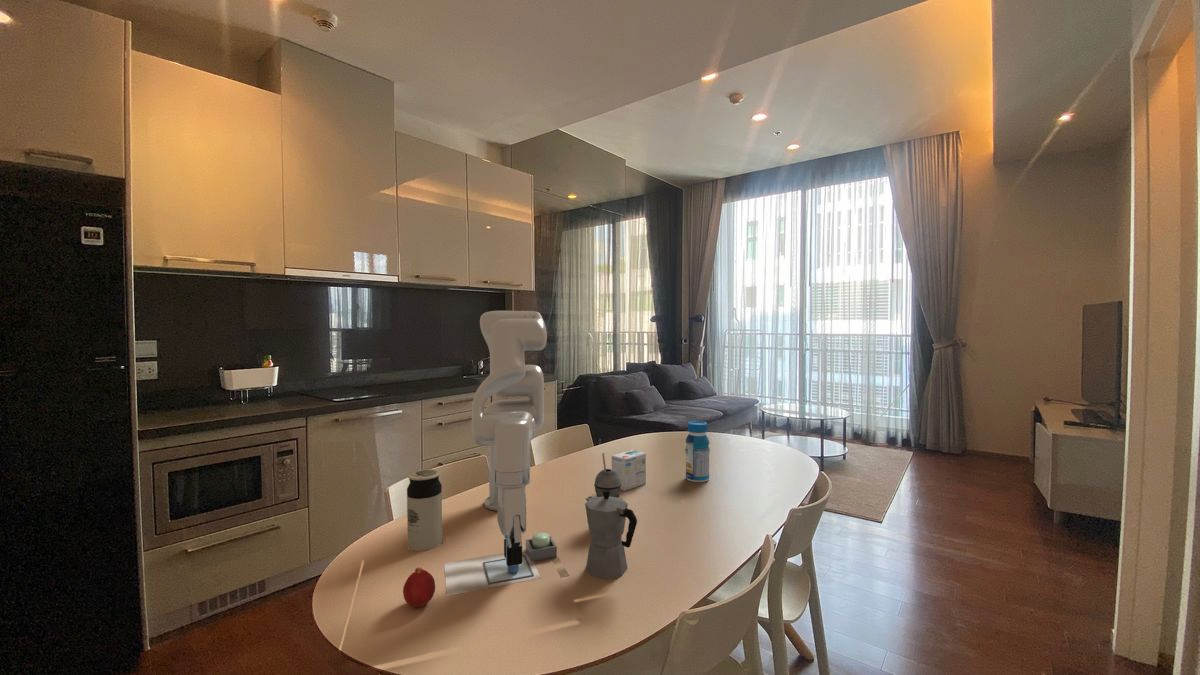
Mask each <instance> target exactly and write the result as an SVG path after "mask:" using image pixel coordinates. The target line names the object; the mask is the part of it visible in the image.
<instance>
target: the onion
mask: <svg viewBox="0 0 1200 675" xmlns="http://www.w3.org/2000/svg"><path fill="white" fill-rule="evenodd" d="M435 592H436V582H435V579H434V576H433V575H432V574H431V573H430V572H429V571H427V570H425V569H423V568H422V567H420V566H418V567H416V568H415V569H414V572H412V573H411V574H410V575H408V577H407V579H406V580H405V582H404V585H403V589H402V593H403V594H402V595H403V599H404V601H405V602H406V603H407V604H408V605H410V606H411V607H414V608H416V609H417V608H423V607H424V606H425V605H427V604H428V603H429V602H430V601H431V600H432V598H434V597H433V596H434V594H435Z"/></svg>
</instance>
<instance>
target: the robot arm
mask: <svg viewBox="0 0 1200 675" xmlns="http://www.w3.org/2000/svg"><path fill="white" fill-rule="evenodd" d="M479 328H480V331H481V334H482V336H483V338H484V341H485V343H486V345H487V347H488V350H489V352H488V353H489V375H488V376H487V377H486V378H485V379H484V380H483V381H482V382H481V383H480V385H479V386H478V388H477V389H476V392H475V393H474V396H473V399H472V403H471V436H472V440H473V441H474V443H475V444H476V445H478V446H480V447H488V464H489V466H488V467H489V469H488V472H489V485H488V486H489V496H488V497H486V498H485V499H484V504H483V506H484V507H485V508H486V509H488V510H489V511H490V510H491V511H497V512H496V513H497V514H496V515H497V516H496V517H497V518H496V519H497V524H498V527H499V531H500V532H501V534H502V535H503V537H504V539H503V553H504V557H505V558H506V535H508V546H507V565H508V566H512V565H518V564H522V550H523V543H522V541H523V538H522V537H523V536H522V534H525V532H527V493H526V486H527V485H529V484H530V483H531V471H530V470H531V468H530V466H531V461H530V460H531V458H530V457H531V456H530V455H531V454H530V450H531V449H530V448H531V447H530V442H531V440H532V439H533V437H534V436H535V432H536V431H537V430H540V429H541V428H542V427H543V425H544V422H545V378H544V371H543V370H542V368H541V367H540V366H539V365H536V364H526V358H525V351H542V350H544V349H545V348H546V345H547V339H548V335H547V334H548V333H547V332H548V331H547V326H546V323H545V320H544V319H543V316H542V315H541V313H540V312H538V311H536V310H535V311H534V310H491V311H486V312H484V313H482V314H481V316H480V319H479ZM493 395H494V396H495V397H499V398H500V397H501V398H504V397H505V398H515V397H516V398H517V397H518V398H519V397H528V398H524V399H521V398H520V399H501V400H495V401H492V402H490V403H489V404H488V405H487V406H486V409H485V404H486V403H487V400H488V399H489V398H490V397H492V396H493ZM484 409H485V410H484ZM511 530H514V531H511ZM511 536H514V538H512V540H511Z"/></svg>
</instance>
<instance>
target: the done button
mask: <svg viewBox="0 0 1200 675" xmlns="http://www.w3.org/2000/svg"><path fill="white" fill-rule="evenodd" d="M550 536H551V535H550V534H549V533H547V532H537V533H534V534H533V535H532V537H531V539H532V548H533V549H539V548H545V547H550Z"/></svg>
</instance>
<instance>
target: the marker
mask: <svg viewBox="0 0 1200 675" xmlns="http://www.w3.org/2000/svg"><path fill="white" fill-rule="evenodd" d="M511 531H514V530H511ZM512 538H514V536H511V540H512ZM505 539H506V565H507V546H508V535H506V538H505ZM507 566H508V565H507ZM518 571H519V564H518V565H512V566H508V572H509V573H516V572H518Z"/></svg>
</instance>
